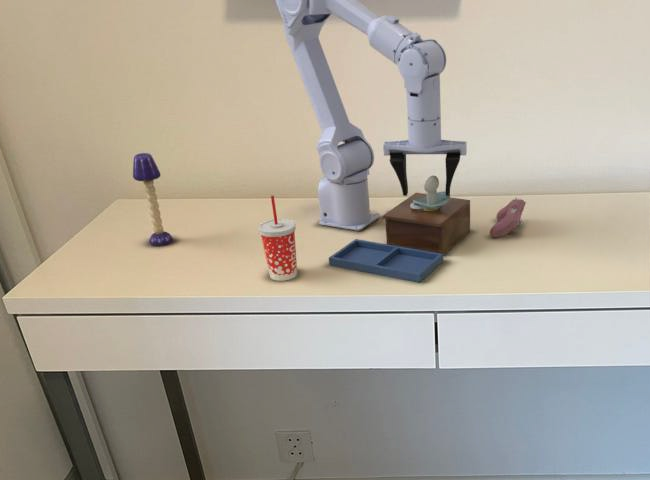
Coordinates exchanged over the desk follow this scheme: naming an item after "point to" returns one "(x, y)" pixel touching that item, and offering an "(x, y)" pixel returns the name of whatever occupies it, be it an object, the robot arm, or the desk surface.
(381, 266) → the tray
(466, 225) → the chest
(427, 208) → the pacifier
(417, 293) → the desk surface
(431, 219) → the chest lid
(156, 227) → the toy lamp
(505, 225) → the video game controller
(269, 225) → the beverage cup
